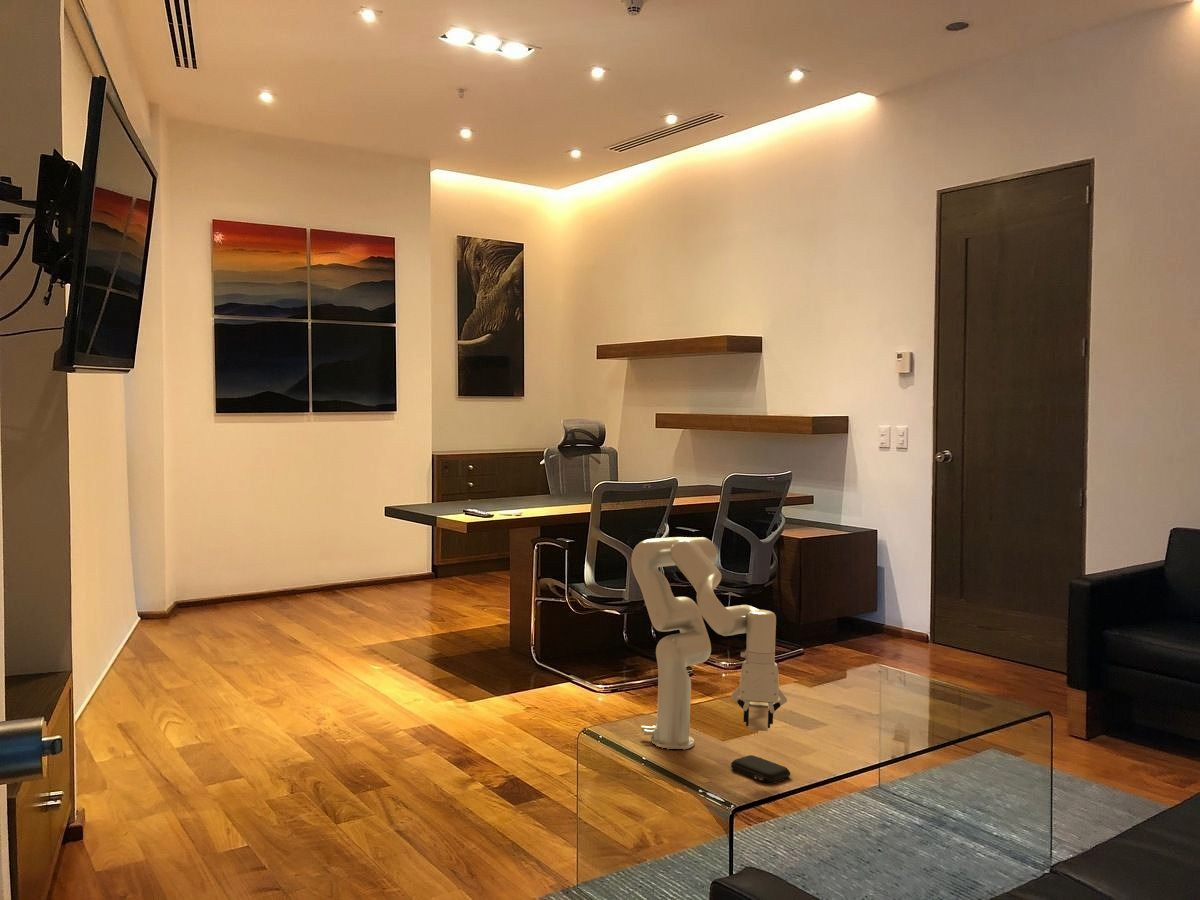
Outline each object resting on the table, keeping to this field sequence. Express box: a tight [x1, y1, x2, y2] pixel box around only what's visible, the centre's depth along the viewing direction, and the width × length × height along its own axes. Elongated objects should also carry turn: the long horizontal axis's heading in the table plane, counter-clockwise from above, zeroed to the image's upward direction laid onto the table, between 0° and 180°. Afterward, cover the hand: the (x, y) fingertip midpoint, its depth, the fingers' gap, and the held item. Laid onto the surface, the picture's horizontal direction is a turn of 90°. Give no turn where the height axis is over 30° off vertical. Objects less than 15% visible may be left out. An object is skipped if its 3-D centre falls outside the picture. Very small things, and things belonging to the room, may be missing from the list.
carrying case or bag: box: [730, 754, 791, 785], centre depth 251 cm, size 11×3×15 cm
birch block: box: [747, 701, 769, 732], centre depth 250 cm, size 5×5×6 cm
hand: (758, 725), depth 250 cm, fingers closed on birch block, 5 cm apart
